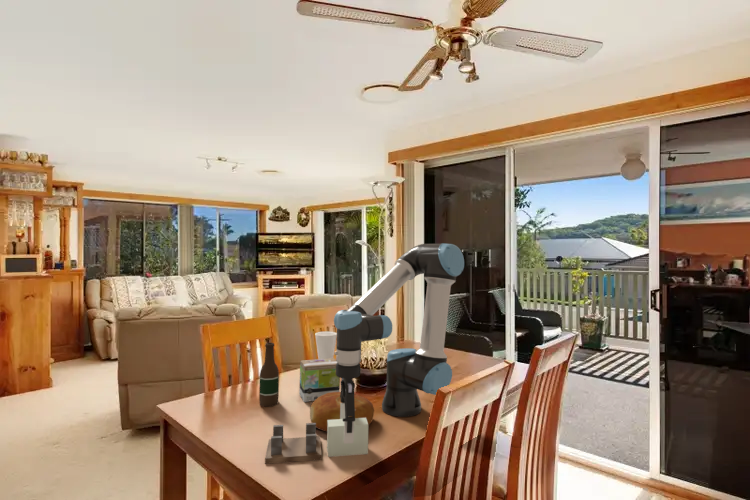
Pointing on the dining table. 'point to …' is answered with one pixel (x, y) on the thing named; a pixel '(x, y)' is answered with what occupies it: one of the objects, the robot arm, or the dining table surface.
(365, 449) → the cream flat block
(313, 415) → the bread
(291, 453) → the grey slab holder
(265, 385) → the beer bottle
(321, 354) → the cup
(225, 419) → the dining table surface
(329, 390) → the tea box
